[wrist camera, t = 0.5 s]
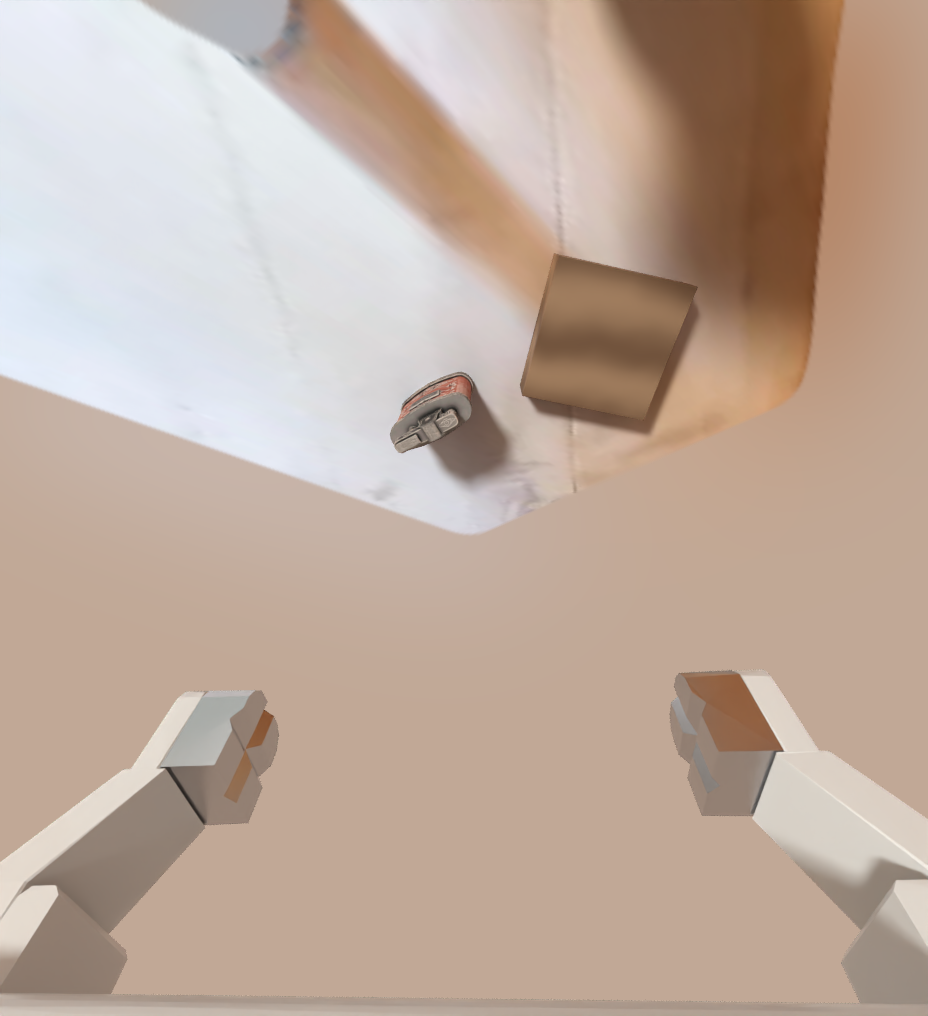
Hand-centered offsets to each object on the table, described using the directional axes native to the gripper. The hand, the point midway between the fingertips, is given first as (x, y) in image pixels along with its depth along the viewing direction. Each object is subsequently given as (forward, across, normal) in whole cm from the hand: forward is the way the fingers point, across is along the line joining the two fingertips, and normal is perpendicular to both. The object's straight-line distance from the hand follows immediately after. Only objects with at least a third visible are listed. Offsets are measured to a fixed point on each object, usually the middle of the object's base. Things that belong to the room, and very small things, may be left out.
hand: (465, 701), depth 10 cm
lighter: (+43, +5, +6) cm, 43 cm away
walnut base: (+42, -11, +2) cm, 44 cm away
